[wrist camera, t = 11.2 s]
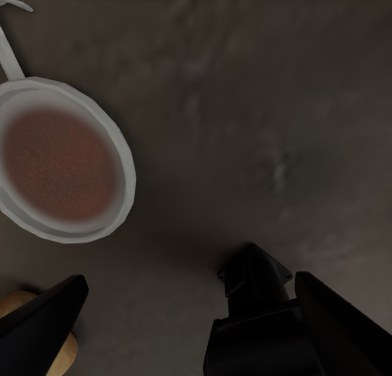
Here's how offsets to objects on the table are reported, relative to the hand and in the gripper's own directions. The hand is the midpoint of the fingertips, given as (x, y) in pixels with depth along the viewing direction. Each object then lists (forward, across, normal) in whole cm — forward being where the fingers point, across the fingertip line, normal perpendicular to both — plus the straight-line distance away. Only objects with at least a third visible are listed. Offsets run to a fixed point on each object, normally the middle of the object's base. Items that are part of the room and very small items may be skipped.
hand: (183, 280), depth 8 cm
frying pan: (+13, +16, -8) cm, 22 cm away
